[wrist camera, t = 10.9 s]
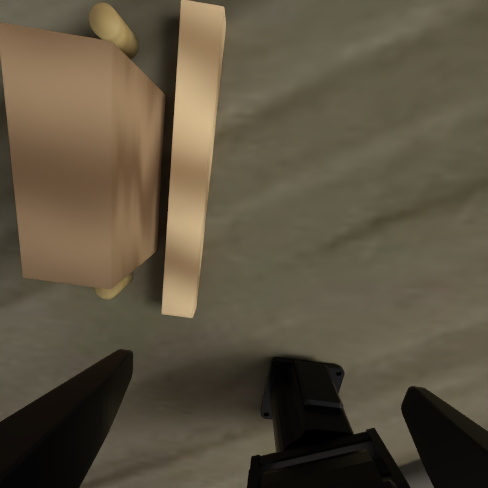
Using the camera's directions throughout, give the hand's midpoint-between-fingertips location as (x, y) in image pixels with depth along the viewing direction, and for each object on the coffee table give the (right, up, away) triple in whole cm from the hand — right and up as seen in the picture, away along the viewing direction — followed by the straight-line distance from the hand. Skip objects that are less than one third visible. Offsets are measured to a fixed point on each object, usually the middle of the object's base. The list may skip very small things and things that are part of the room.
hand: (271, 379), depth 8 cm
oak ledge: (-7, +9, +10) cm, 15 cm away
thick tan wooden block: (-9, +9, +10) cm, 17 cm away
